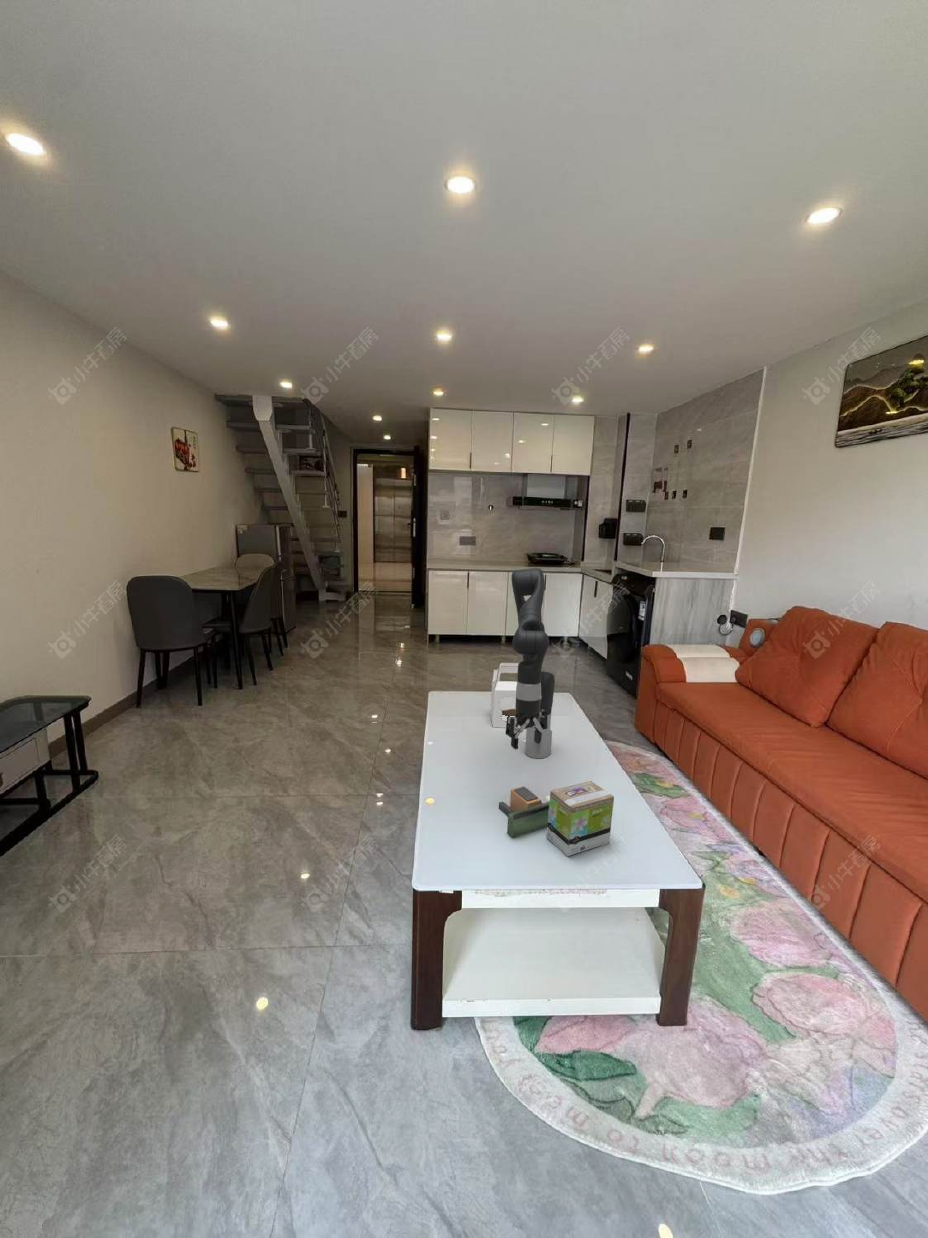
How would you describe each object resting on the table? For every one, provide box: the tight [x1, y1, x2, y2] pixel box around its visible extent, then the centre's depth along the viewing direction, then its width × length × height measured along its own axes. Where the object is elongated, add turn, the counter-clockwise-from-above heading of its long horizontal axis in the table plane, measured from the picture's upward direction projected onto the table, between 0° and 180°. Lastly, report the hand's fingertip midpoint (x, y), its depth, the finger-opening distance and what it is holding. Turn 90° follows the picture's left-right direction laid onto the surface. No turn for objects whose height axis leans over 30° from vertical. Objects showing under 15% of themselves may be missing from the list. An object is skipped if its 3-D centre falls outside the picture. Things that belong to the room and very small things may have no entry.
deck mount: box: [498, 800, 550, 839], centre depth 152 cm, size 22×15×7 cm
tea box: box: [546, 780, 615, 857], centre depth 139 cm, size 15×10×15 cm, turn 117°
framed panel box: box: [509, 786, 542, 812], centre depth 154 cm, size 5×9×6 cm, turn 29°
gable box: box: [490, 662, 543, 729], centre depth 224 cm, size 22×13×28 cm, turn 91°
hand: (526, 745), depth 154 cm, fingers open, 8 cm apart
